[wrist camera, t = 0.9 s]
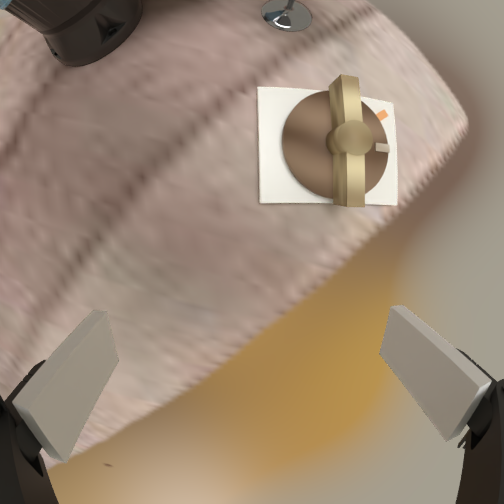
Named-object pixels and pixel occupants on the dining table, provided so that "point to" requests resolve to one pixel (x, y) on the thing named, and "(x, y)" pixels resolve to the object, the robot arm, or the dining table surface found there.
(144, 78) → the dining table surface
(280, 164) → the base plate
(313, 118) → the capstan dial
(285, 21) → the wine glass
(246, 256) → the dining table surface
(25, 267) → the dining table surface
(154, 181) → the dining table surface
